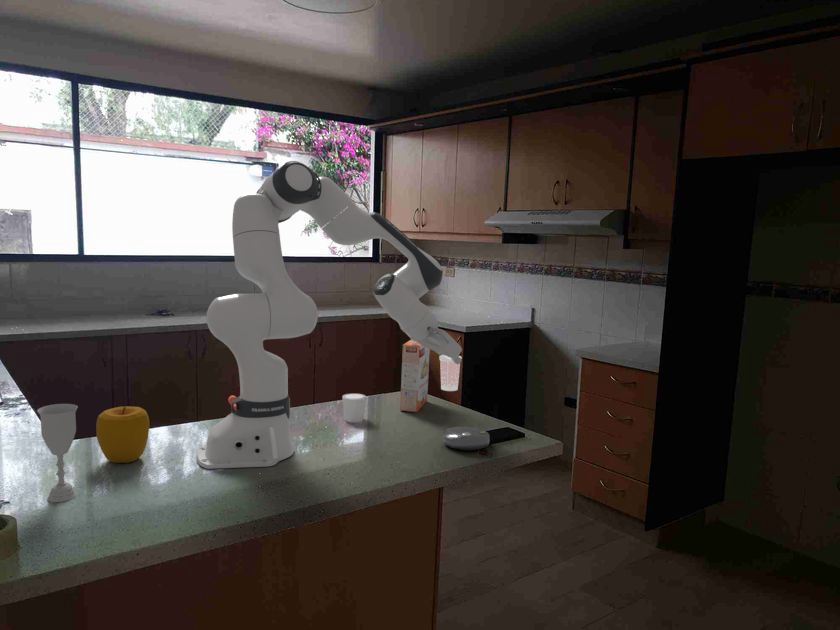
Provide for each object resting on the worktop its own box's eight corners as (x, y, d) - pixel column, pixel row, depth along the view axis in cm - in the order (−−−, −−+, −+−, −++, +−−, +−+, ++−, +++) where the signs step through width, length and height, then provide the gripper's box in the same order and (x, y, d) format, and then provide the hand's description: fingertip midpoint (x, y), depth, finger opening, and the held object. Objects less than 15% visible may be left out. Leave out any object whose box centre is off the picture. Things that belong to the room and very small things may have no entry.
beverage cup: (463, 387, 170) (464, 337, 168) (457, 392, 164) (458, 341, 162) (441, 385, 172) (443, 336, 170) (435, 390, 166) (436, 339, 164)
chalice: (87, 497, 122) (83, 409, 119) (49, 507, 116) (44, 416, 114) (73, 486, 126) (70, 401, 124) (36, 495, 121) (31, 408, 119)
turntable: (454, 455, 151) (455, 443, 151) (435, 439, 162) (435, 428, 162) (497, 450, 155) (497, 439, 155) (476, 435, 166) (476, 424, 166)
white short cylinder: (364, 423, 174) (364, 399, 173) (340, 422, 174) (340, 398, 173) (366, 416, 181) (367, 393, 180) (343, 415, 181) (344, 392, 180)
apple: (98, 473, 133) (96, 416, 132) (96, 456, 143) (93, 403, 141) (153, 464, 139) (152, 410, 137) (147, 449, 148) (145, 398, 146)
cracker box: (418, 413, 185) (420, 345, 182) (399, 411, 187) (401, 344, 184) (428, 401, 199) (430, 338, 196) (410, 399, 200) (412, 336, 197)
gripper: (447, 322, 153) (479, 358, 158) (413, 311, 171) (442, 344, 177) (430, 340, 152) (463, 376, 157) (398, 327, 170) (428, 360, 175)
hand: (452, 359), depth 167 cm, fingers closed on beverage cup, 6 cm apart
